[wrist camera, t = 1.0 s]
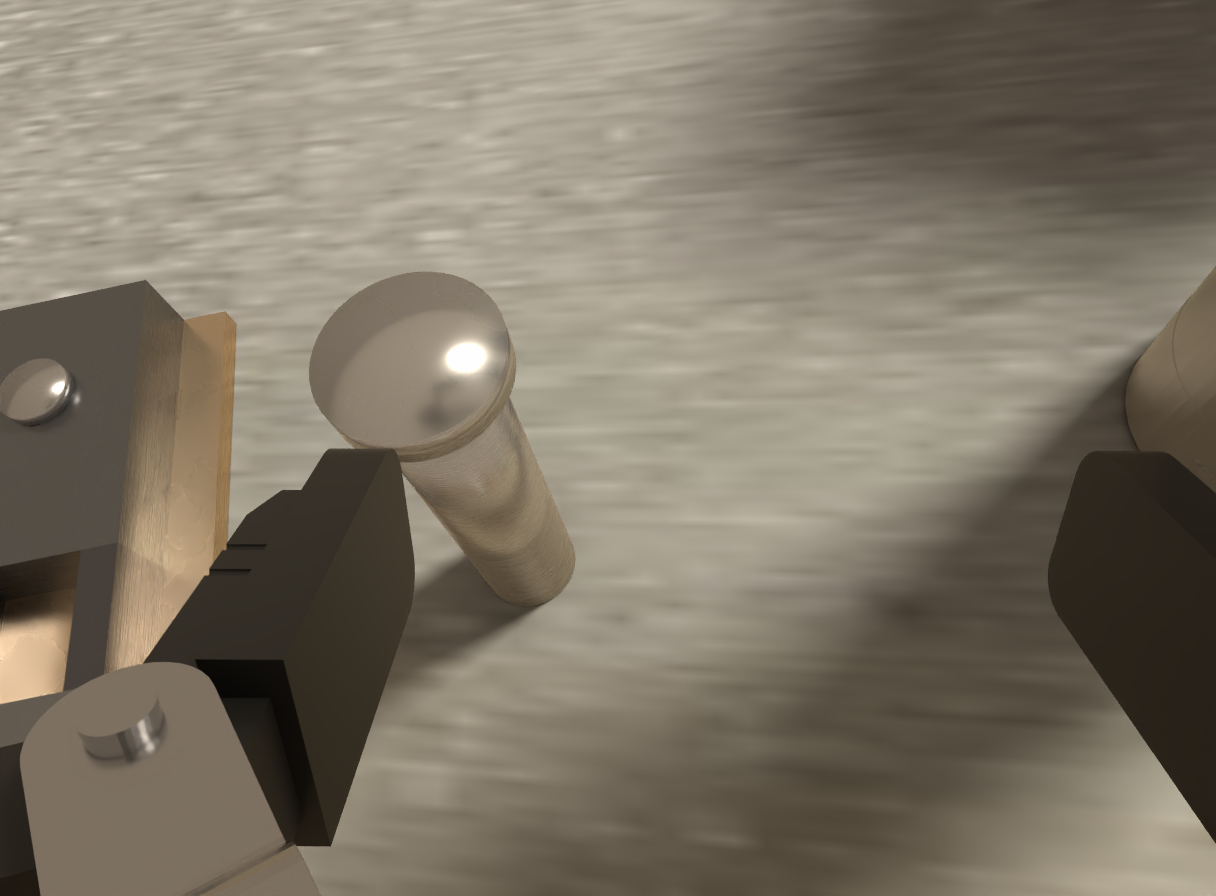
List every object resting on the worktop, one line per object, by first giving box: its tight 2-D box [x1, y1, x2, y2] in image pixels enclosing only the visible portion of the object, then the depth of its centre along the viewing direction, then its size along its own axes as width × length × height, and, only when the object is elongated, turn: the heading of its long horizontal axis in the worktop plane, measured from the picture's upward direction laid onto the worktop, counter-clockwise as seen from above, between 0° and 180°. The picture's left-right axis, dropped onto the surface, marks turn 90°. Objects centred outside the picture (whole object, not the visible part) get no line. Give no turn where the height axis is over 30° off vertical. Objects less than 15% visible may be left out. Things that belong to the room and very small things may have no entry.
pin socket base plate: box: [0, 280, 236, 747], centre depth 32 cm, size 30×12×5 cm, turn 10°
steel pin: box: [309, 272, 575, 606], centre depth 27 cm, size 5×5×15 cm
